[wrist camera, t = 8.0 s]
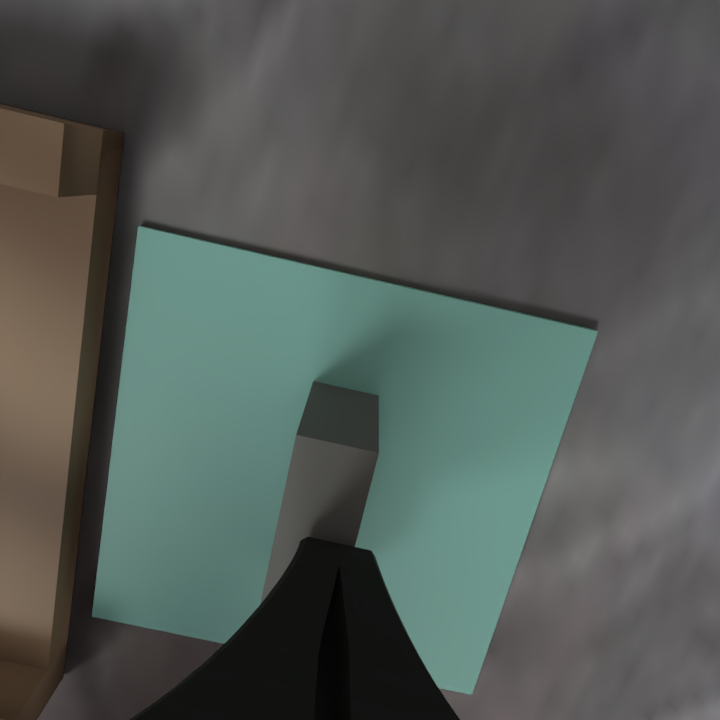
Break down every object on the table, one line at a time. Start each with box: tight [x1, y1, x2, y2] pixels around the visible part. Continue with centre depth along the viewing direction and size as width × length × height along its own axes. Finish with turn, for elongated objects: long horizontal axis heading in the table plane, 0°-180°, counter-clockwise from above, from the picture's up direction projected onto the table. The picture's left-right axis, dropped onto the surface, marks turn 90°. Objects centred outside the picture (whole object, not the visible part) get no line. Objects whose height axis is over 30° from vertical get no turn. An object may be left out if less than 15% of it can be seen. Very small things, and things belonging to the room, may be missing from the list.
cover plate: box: [92, 226, 598, 695], centre depth 13 cm, size 10×10×4 cm
